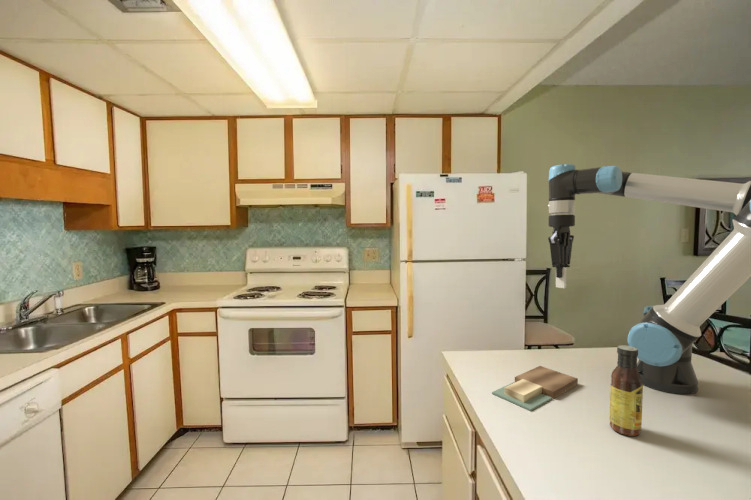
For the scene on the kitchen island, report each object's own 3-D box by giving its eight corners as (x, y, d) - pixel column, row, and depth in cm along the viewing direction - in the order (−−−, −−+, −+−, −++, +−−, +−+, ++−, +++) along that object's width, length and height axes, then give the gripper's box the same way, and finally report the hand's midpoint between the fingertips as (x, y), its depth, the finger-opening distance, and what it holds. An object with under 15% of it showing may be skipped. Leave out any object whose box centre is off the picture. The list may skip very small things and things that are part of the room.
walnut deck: (577, 384, 109) (577, 378, 109) (552, 398, 101) (553, 391, 101) (539, 371, 119) (540, 365, 119) (514, 383, 111) (514, 377, 111)
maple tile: (541, 393, 104) (542, 386, 104) (523, 402, 99) (523, 395, 98) (522, 385, 109) (522, 378, 108) (504, 394, 103) (504, 387, 103)
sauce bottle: (642, 440, 82) (646, 355, 80) (609, 432, 85) (612, 350, 83) (639, 426, 87) (643, 346, 86) (608, 419, 91) (611, 341, 89)
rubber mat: (551, 399, 101) (552, 397, 101) (530, 411, 95) (530, 409, 95) (513, 383, 111) (513, 382, 111) (492, 393, 105) (492, 392, 105)
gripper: (559, 214, 123) (558, 283, 125) (539, 214, 115) (539, 288, 116) (582, 213, 117) (581, 286, 119) (564, 213, 109) (563, 291, 111)
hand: (560, 287), depth 118 cm, fingers closed
